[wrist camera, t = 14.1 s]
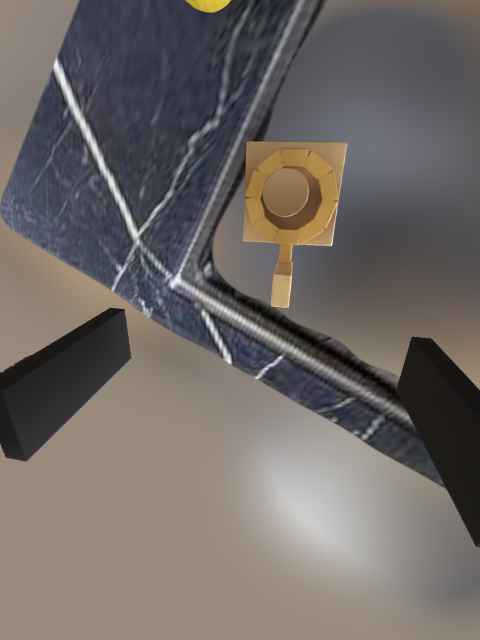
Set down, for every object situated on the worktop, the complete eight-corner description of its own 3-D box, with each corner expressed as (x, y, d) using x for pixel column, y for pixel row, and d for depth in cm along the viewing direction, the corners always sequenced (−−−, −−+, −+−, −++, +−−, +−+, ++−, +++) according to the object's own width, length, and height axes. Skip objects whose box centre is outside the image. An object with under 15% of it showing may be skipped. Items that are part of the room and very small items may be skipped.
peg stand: (248, 144, 29) (202, 90, 15) (344, 144, 27) (396, 86, 13) (245, 239, 32) (204, 270, 18) (330, 244, 31) (358, 282, 17)
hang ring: (249, 150, 27) (237, 137, 22) (343, 151, 26) (355, 138, 21) (244, 285, 33) (233, 303, 27) (322, 292, 31) (327, 311, 26)
